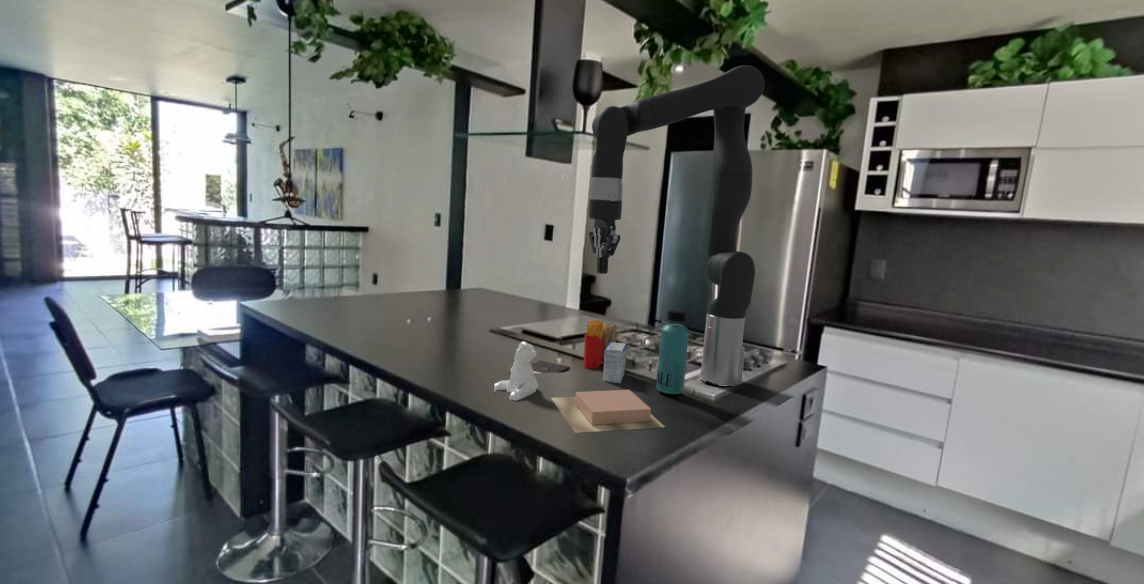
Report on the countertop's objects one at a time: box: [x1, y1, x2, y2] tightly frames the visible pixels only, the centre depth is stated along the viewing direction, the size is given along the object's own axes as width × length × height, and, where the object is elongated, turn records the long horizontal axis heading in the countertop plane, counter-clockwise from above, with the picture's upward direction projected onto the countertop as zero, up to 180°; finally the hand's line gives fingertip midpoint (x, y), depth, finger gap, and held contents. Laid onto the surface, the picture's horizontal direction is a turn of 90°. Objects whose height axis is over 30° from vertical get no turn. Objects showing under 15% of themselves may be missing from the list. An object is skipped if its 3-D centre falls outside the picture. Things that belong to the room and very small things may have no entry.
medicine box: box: [602, 342, 627, 384], centre depth 129 cm, size 8×4×9 cm, turn 168°
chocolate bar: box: [508, 360, 570, 375], centre depth 132 cm, size 9×1×18 cm
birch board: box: [550, 396, 666, 434], centre depth 107 cm, size 18×18×1 cm
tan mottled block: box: [602, 322, 617, 359], centre depth 149 cm, size 10×4×10 cm, turn 162°
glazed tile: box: [574, 389, 652, 425], centre depth 106 cm, size 12×3×11 cm
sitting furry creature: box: [493, 340, 539, 402], centre depth 115 cm, size 10×9×12 cm
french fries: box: [583, 318, 604, 370], centre depth 141 cm, size 8×4×12 cm, turn 159°
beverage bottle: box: [655, 309, 690, 395], centre depth 120 cm, size 6×7×20 cm
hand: (602, 273), depth 125 cm, fingers closed
